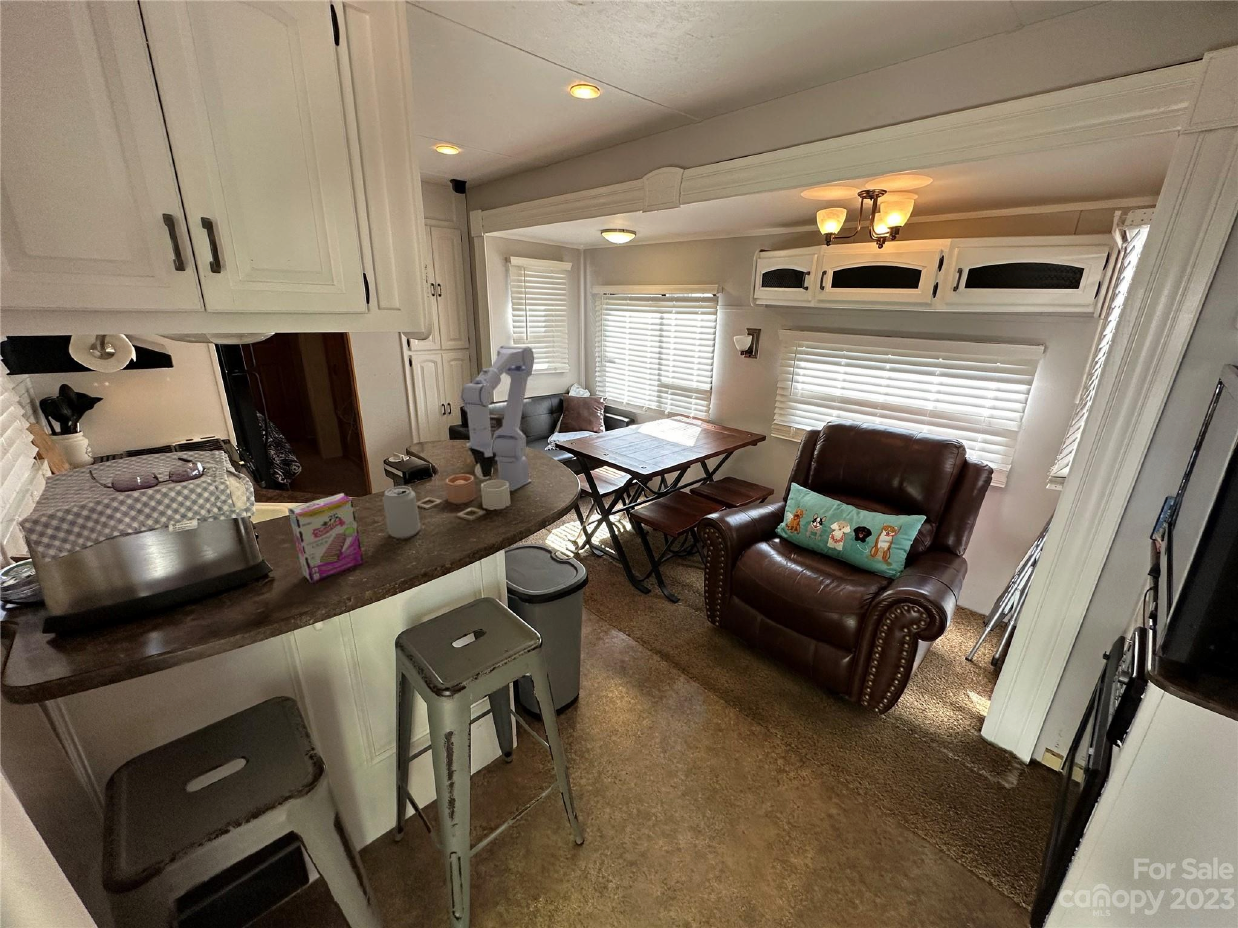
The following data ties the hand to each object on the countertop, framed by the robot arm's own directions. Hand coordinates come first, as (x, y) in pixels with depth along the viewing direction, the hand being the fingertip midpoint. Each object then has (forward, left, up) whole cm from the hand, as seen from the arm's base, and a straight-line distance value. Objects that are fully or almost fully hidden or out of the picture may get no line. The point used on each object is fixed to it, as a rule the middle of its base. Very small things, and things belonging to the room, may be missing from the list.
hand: (484, 473), depth 136 cm
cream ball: (0, 0, +1) cm, 1 cm away
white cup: (-1, +2, -10) cm, 10 cm away
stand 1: (+9, -15, -10) cm, 20 cm away
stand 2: (+8, +1, -10) cm, 12 cm away
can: (+24, -6, -10) cm, 26 cm away
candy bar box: (+43, -5, -10) cm, 44 cm away
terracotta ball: (+1, -10, -7) cm, 12 cm away
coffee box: (-32, -27, -10) cm, 43 cm away
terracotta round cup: (+1, -10, -10) cm, 14 cm away
